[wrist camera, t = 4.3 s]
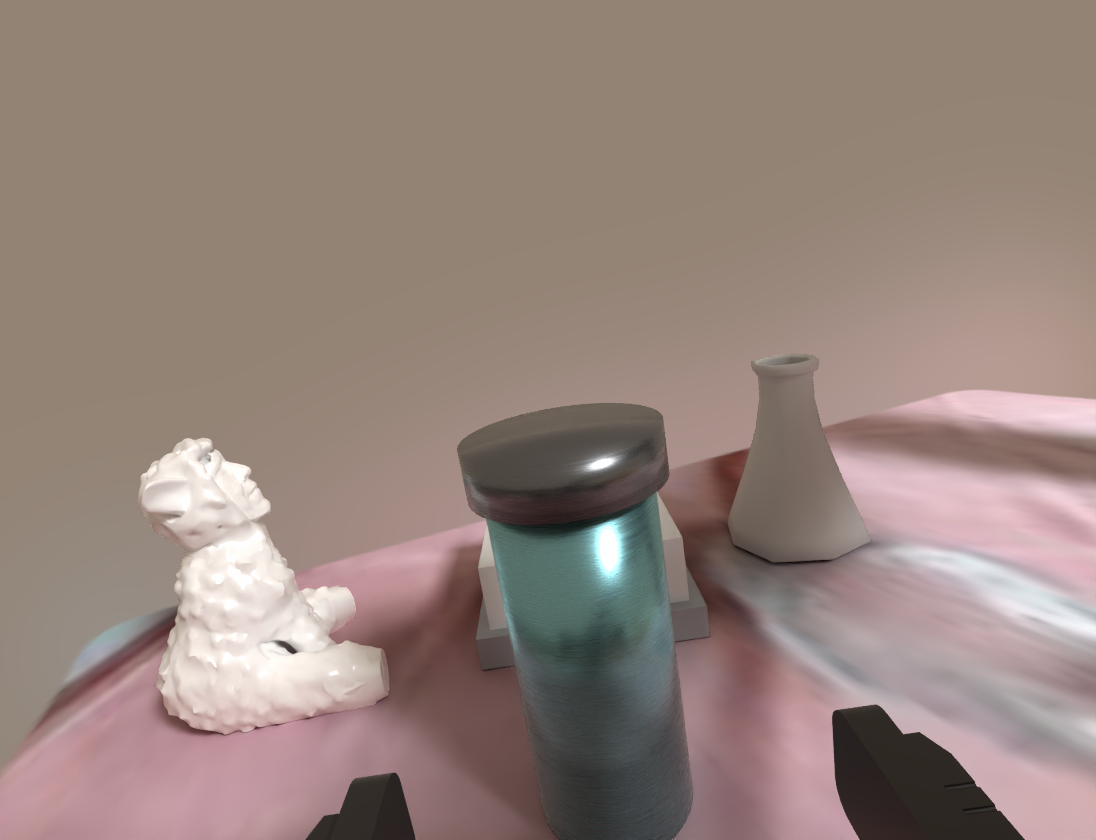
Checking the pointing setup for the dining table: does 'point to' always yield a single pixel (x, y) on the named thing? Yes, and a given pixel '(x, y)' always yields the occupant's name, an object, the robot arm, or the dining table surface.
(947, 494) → the dining table surface
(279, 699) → the seated beast figurine
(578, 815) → the teal capped jar
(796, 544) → the flask
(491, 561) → the dock
